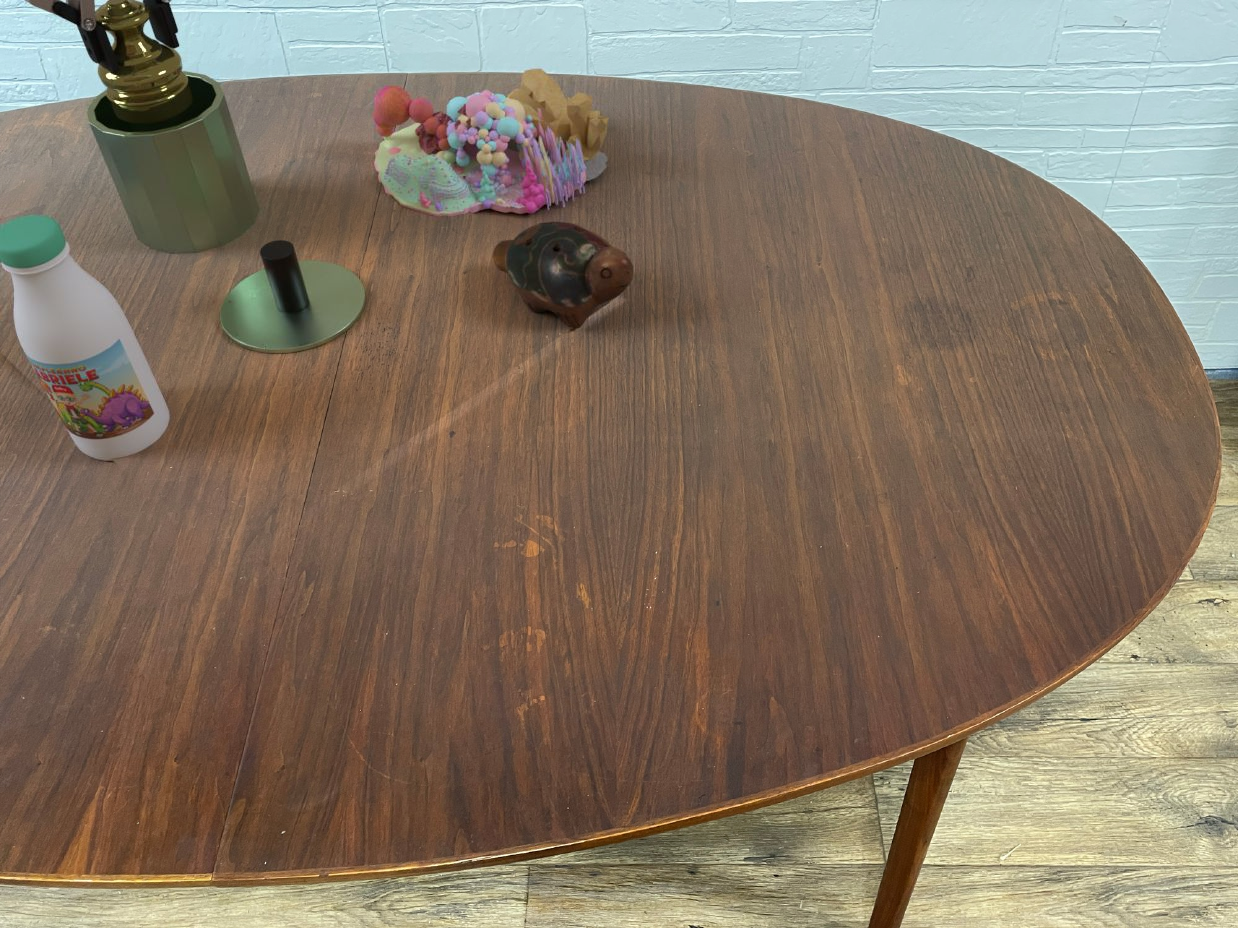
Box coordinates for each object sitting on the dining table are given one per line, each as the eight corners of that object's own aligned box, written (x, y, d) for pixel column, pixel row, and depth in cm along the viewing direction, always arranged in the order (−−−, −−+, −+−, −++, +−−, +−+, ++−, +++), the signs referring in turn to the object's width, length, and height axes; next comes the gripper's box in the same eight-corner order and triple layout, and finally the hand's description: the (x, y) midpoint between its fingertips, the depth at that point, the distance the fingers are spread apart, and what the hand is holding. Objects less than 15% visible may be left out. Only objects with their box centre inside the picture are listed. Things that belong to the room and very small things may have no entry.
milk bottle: (91, 401, 90) (-14, 202, 76) (181, 396, 91) (94, 197, 76) (65, 466, 85) (-53, 266, 71) (160, 461, 86) (62, 260, 71)
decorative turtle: (615, 355, 94) (606, 284, 88) (475, 317, 99) (457, 248, 93) (662, 290, 99) (656, 220, 93) (526, 258, 105) (512, 189, 99)
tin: (178, 273, 103) (129, 150, 93) (114, 225, 109) (62, 105, 99) (283, 219, 109) (248, 99, 99) (217, 177, 115) (178, 59, 105)
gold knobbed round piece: (211, 96, 100) (177, -8, 93) (156, 133, 96) (117, 25, 89) (152, 81, 103) (115, -22, 95) (97, 116, 98) (53, 10, 91)
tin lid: (277, 379, 92) (256, 316, 87) (195, 315, 98) (170, 253, 93) (396, 308, 99) (382, 246, 94) (311, 252, 105) (295, 191, 100)
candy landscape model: (531, 91, 127) (526, 16, 120) (646, 175, 114) (647, 96, 107) (344, 156, 118) (326, 78, 111) (446, 256, 104) (433, 175, 98)
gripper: (132, -200, 89) (198, 13, 102) (-70, -149, 80) (30, 76, 93) (179, -182, 85) (241, 36, 98) (-27, -127, 77) (71, 103, 90)
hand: (138, 53), depth 96 cm, fingers closed on gold knobbed round piece, 5 cm apart
